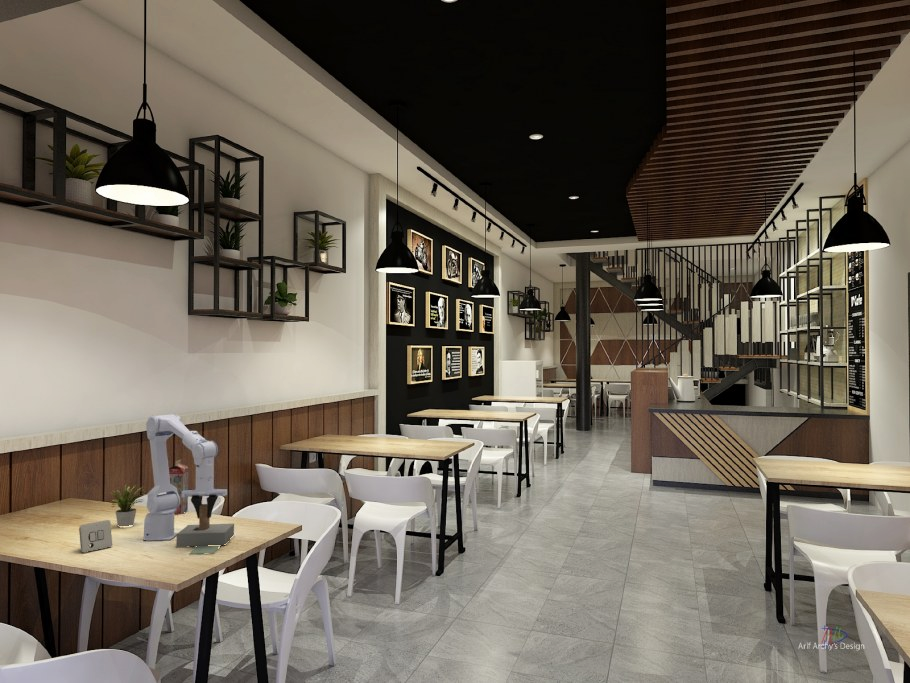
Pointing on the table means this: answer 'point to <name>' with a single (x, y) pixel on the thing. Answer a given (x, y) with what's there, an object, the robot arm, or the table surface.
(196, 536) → the panel
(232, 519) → the table surface
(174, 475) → the juice carton
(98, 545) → the electrical switch
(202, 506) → the wooden peg
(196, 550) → the mat
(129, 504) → the house plant
